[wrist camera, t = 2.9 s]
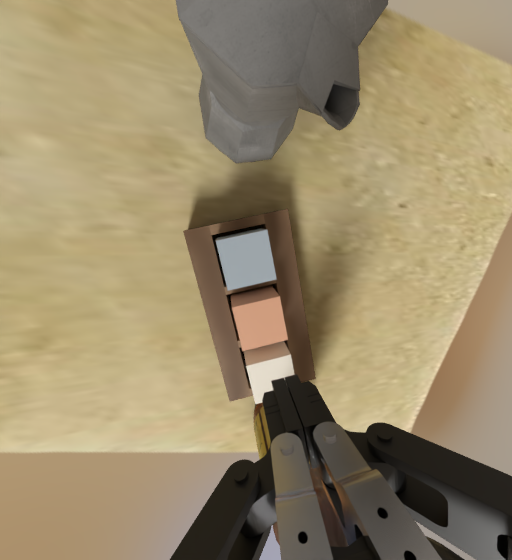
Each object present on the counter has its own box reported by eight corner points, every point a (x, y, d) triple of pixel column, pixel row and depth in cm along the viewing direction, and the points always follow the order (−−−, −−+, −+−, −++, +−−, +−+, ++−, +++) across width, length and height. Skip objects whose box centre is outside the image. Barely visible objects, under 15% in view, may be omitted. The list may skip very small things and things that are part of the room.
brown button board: (229, 384, 31) (229, 401, 28) (187, 229, 26) (183, 230, 23) (307, 364, 31) (315, 378, 28) (280, 210, 27) (287, 208, 24)
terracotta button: (239, 332, 27) (242, 351, 23) (230, 294, 26) (231, 307, 22) (278, 322, 27) (288, 339, 23) (271, 285, 26) (279, 296, 22)
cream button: (251, 379, 28) (255, 404, 25) (242, 345, 27) (246, 366, 24) (288, 369, 29) (297, 392, 25) (281, 336, 28) (290, 354, 24)
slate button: (227, 280, 26) (227, 290, 22) (216, 237, 24) (215, 240, 21) (268, 270, 26) (276, 279, 22) (260, 228, 25) (267, 229, 21)
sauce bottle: (278, 438, 33) (353, 731, 14) (242, 417, 32) (270, 713, 13) (310, 403, 33) (433, 660, 14) (274, 379, 31) (355, 632, 12)
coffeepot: (318, 154, 26) (514, 15, 8) (240, 201, 26) (275, 160, 8) (242, -15, 22) (316, -945, 4) (150, 41, 22) (-133, -655, 4)
